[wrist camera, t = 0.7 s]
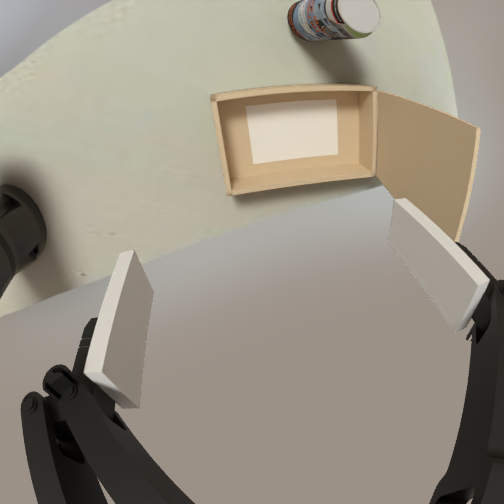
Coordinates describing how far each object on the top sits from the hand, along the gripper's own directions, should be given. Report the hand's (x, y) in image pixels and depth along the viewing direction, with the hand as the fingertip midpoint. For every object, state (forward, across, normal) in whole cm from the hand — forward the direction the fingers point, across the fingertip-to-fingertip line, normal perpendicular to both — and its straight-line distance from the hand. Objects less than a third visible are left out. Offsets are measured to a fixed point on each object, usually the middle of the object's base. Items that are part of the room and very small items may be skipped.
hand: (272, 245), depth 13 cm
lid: (+11, +16, -1) cm, 19 cm away
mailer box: (+26, +8, -1) cm, 27 cm away
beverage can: (+26, +12, +14) cm, 32 cm away
